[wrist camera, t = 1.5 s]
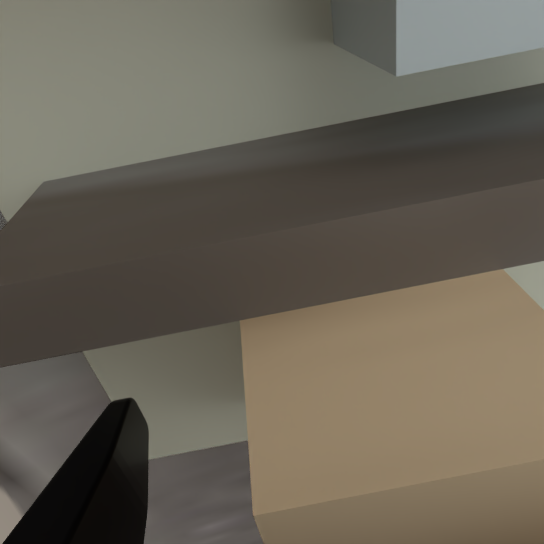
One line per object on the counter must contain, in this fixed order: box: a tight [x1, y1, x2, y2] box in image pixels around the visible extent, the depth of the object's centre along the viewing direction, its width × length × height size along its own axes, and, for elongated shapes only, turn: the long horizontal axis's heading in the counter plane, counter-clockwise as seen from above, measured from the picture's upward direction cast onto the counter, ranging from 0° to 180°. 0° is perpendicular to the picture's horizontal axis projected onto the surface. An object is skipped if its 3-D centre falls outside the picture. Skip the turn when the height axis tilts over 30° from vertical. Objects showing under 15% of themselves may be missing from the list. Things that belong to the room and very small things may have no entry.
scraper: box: [0, 83, 544, 544], centre depth 7 cm, size 7×10×6 cm
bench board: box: [0, 0, 544, 460], centre depth 8 cm, size 18×12×2 cm, turn 9°
